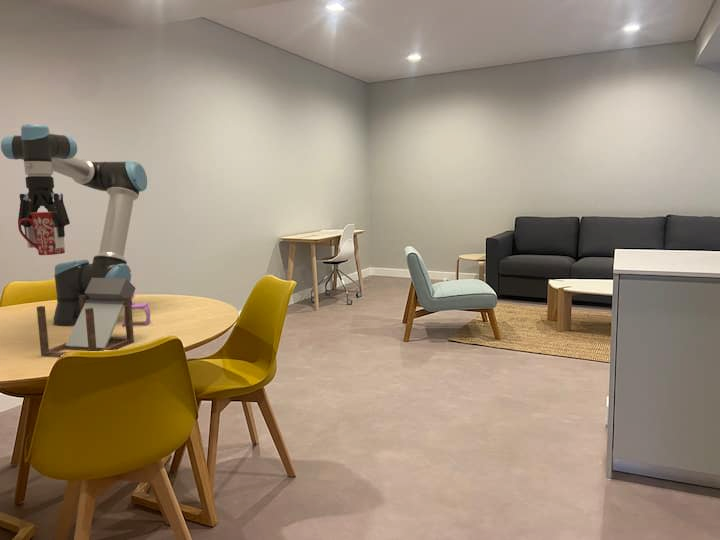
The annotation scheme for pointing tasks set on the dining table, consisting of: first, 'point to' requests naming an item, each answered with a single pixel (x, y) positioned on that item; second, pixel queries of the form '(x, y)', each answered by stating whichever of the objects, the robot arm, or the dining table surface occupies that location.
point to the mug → (43, 233)
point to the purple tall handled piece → (140, 306)
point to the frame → (90, 330)
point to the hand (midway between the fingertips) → (46, 247)
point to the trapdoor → (101, 310)
